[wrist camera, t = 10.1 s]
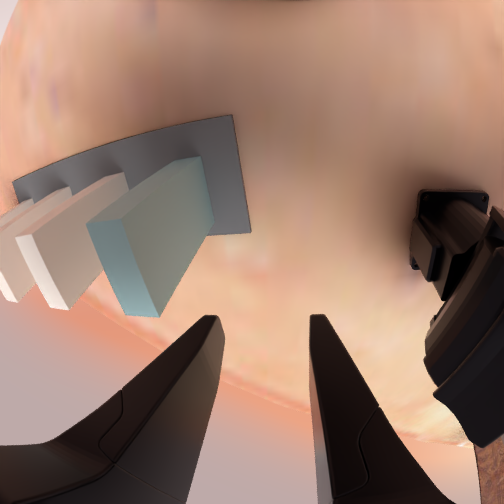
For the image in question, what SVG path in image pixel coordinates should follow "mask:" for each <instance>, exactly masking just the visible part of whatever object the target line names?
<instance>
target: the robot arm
mask: <svg viewBox="0 0 504 504" xmlns="http://www.w3.org/2000/svg"><path fill="white" fill-rule="evenodd" d="M424 195H427V198H426V199H423V196H424ZM483 196H484V199H483V200H482V197H483ZM488 201H489V196H488V194H487V193H486V192H484V191H473V190H432V189H424V190H421V191H420V192H419V194H418V201H417V212H416V217H415V219H414V220H413V225H412V234H411V242H410V251H411V259H410V265H411V267H412V269H414V270H421V272H422V274H423V276H424V278H425V279H426V280H427V282H432V283H433V285H434V286H435V288H436V290H437V292H438V294H439V296H440V298H441V300H442V301H445V302H444V304H443V306H442V307H441V309H440V310H439V312H438V313H437V315H434V317H433V318H432V320H431V321H430V329H429V330H428V332H427V336H426V339H425V352H426V356H425V357H424V359H423V360H424V364H425V367H426V369H427V372H428V374H429V376H430V377H431V379H432V381H433V382H434V384H435V385H436V386H437V387H438V388H437V389H436V390H435V391H434V392H433V396H434V398H436V399H437V400H439V401H440V402H441V403H443V404H444V405H446V406H447V407H448V408H449V410H450V411H451V412H452V413H453V414H454V415H455V416H456V418H457V419H458V421H459V423H460V424H461V426H462V428H463V430H464V432H465V434H466V436H467V438H468V439H469V440H470V441H471V442H472V443H474V444H475V445H477V446H478V447H480V448H485V447H487V446H488V445H490V444H491V443H492V442H494V441H495V440H497V439H498V438H500V437H501V436H502V435H504V211H503V210H501V209H499V208H497V207H495V206H492V209H491V211H490V217H489V216H488V215H487V214H486V213H487V208H488ZM416 262H417V264H415V263H416ZM224 344H225V335H224V331H223V328H222V325H221V321H220V318H219V317H218V316H217V315H204V316H203V317H201V318H200V319H199V320H198V321H197V322H196V323H195V324H194V325H193V326H191V327H190V328H189V329H188V330H187V331H186V332H185V333H184V334H183V335H181V336H180V337H179V338H178V339H177V340H176V341H175V342H174V343H172V344H171V345H170V346H169V347H168V348H167V349H166V350H165V351H164V352H162V353H161V354H160V355H159V356H158V357H157V358H156V359H155V360H153V361H152V362H151V363H150V364H149V365H148V366H147V367H145V368H144V369H143V370H142V371H141V372H140V373H139V374H138V375H136V376H135V377H134V378H133V379H132V380H131V381H130V382H129V383H127V384H126V385H125V386H124V387H123V388H122V390H119V391H118V392H117V393H116V394H115V395H113V396H112V397H111V398H110V399H109V400H108V401H106V402H105V403H104V404H103V405H101V406H100V407H99V408H98V409H96V410H95V411H94V412H92V413H91V414H89V415H88V416H87V417H86V418H84V419H83V420H81V421H80V422H78V423H77V424H75V425H74V426H72V427H71V428H69V429H68V430H66V431H65V432H63V433H62V434H61V435H59V436H57V437H56V438H54V439H52V440H50V441H48V442H45V443H41V444H32V445H7V446H0V504H186V501H187V497H188V494H189V490H190V487H191V483H192V480H193V476H194V473H195V469H196V465H197V461H198V458H199V455H200V451H201V447H202V444H203V440H204V437H205V433H206V429H207V426H208V422H209V418H210V415H211V411H212V408H213V404H214V400H215V397H216V393H217V389H218V385H219V379H220V372H221V365H222V358H223V351H224ZM309 391H310V403H311V413H312V424H313V436H314V448H315V463H316V477H317V494H318V504H455V503H454V502H452V501H451V500H449V499H448V498H447V497H446V496H445V495H444V494H442V492H441V491H440V490H439V489H438V488H437V487H436V486H435V485H434V483H433V482H432V481H431V479H430V478H429V477H428V476H427V474H426V473H425V472H424V470H423V469H422V468H421V466H420V465H419V464H418V463H417V461H416V460H415V459H414V457H413V456H412V455H411V453H410V452H409V451H408V450H407V448H406V447H405V445H404V444H403V442H402V441H401V440H400V438H399V437H398V435H397V434H396V432H395V431H394V429H393V428H392V426H391V424H390V423H389V421H388V419H387V418H386V416H385V414H384V412H383V411H382V409H381V408H380V407H379V404H378V402H377V401H376V399H375V397H374V395H373V394H372V392H371V390H370V388H369V387H368V385H367V383H366V382H365V380H364V378H363V377H362V375H361V373H360V371H359V370H358V368H357V366H356V365H355V363H354V361H353V360H352V358H351V356H350V355H349V353H348V351H347V350H346V348H345V346H344V345H343V343H342V341H341V340H340V338H339V336H338V335H337V333H336V332H335V330H334V328H333V327H332V325H331V323H330V322H329V320H328V318H327V317H326V316H325V315H324V314H312V315H310V327H309Z"/></svg>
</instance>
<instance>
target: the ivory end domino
mask: <svg viewBox="0 0 504 504" xmlns="http://www.w3.org/2000/svg"><path fill="white" fill-rule="evenodd" d="M33 204H34V202H33V199H32V198H31V199H28V200H25V201H23V202H21V203H20V204H18V205H16V206H15V207H13V208H12V209H10V210H9V211H7V212H6V213H4V214H3V215H2V216H0V227H2V226H3V225H5V224H6V223H7V222H9V221H10V220H11V219H13V218H14V217H16V216H17V215H19V214H20V213H21V212H23V211H24V210H26V209H27V208H29V207H30V206H32V205H33Z"/></svg>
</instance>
